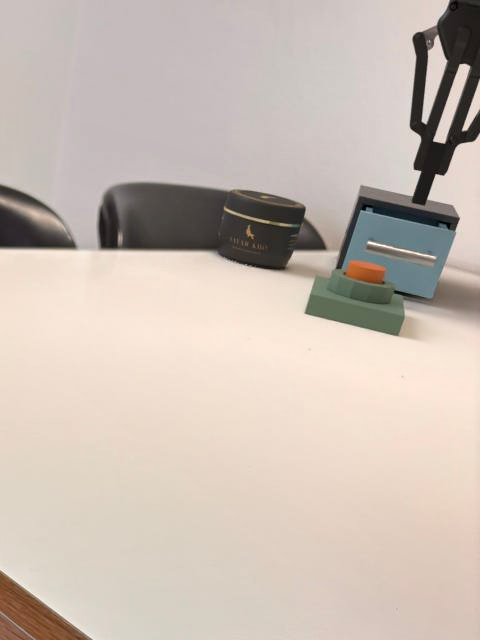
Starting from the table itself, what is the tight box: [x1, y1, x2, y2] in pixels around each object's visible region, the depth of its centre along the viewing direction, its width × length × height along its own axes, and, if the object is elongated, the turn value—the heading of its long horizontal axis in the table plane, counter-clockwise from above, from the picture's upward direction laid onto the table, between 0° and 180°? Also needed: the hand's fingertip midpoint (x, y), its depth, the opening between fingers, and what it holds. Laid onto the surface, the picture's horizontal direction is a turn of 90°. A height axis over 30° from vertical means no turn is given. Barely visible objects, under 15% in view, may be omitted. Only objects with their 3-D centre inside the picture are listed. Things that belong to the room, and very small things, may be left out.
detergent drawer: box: [342, 204, 457, 300], centre depth 133 cm, size 20×11×8 cm, turn 162°
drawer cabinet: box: [334, 184, 461, 269], centre depth 143 cm, size 15×13×10 cm
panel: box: [304, 268, 406, 337], centre depth 118 cm, size 12×10×4 cm
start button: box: [346, 260, 386, 284], centre depth 117 cm, size 4×4×2 cm
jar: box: [216, 188, 307, 270], centre depth 135 cm, size 10×10×8 cm
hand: (418, 203), depth 125 cm, fingers closed
